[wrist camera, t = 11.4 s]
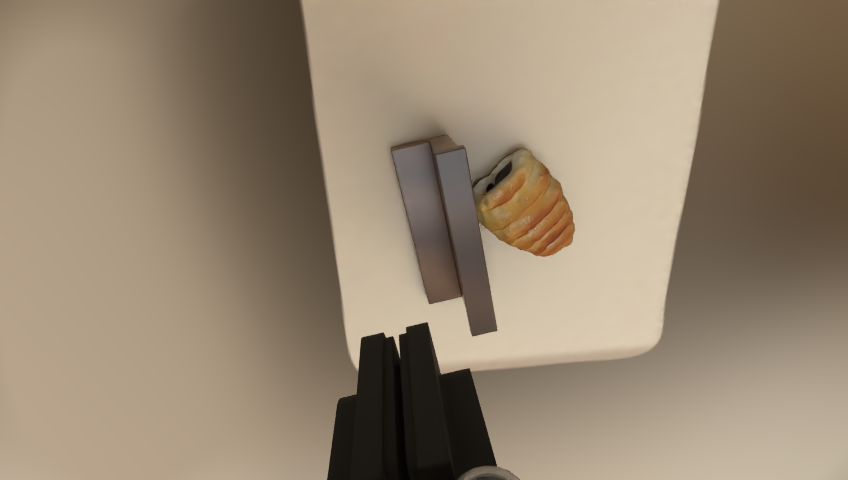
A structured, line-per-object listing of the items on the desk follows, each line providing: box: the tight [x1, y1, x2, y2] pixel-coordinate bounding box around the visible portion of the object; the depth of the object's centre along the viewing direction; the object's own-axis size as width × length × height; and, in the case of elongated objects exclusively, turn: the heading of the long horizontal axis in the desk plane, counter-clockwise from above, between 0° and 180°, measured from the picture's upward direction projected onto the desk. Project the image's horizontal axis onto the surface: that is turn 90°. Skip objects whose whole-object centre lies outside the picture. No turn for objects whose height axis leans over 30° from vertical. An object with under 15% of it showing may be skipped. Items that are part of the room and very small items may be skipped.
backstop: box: [391, 135, 497, 336], centre depth 33 cm, size 14×5×7 cm, turn 12°
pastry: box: [473, 149, 575, 257], centre depth 35 cm, size 9×7×4 cm
